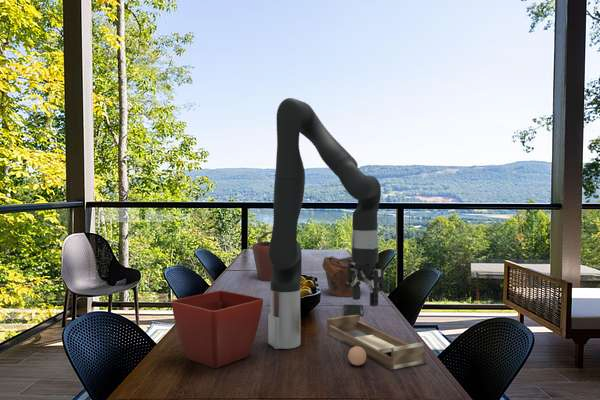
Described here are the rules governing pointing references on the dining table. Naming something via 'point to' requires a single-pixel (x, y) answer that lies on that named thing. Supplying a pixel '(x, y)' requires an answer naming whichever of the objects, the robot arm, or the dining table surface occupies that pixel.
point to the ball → (357, 355)
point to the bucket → (263, 259)
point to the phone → (353, 310)
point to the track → (376, 343)
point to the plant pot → (217, 326)
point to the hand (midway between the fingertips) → (365, 302)
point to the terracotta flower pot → (338, 276)
